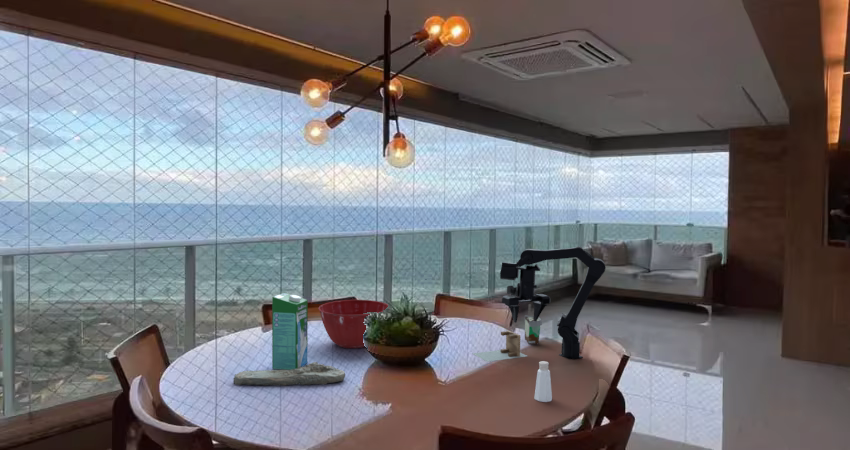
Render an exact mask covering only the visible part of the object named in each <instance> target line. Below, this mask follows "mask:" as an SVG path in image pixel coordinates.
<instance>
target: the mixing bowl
mask: <svg viewBox="0 0 850 450" xmlns="http://www.w3.org/2000/svg"><path fill="white" fill-rule="evenodd" d="M388 305H389V304H388V303H386V302H382V301H377V300H369V299H344V300H335V301H330V302H326V303H323V304H321V305H319V307H318V310H319V313H320V314H319V315H320V318H321V321H322V325H323V327H324V329H325V332H326V333H327V335H328V337H329V339H330V341H332V342H333V343H334V344H335V345H337V346H338V347H340V348H344V349H362V348H365V347H364V343H363V334H364V332H365V330H366V325H364V323H363V322H364V318H365V317H366V316H368V315H370V314H363V313H367V312H377V313H379V312H383V310H385V309H386V308H387V307H388Z"/></svg>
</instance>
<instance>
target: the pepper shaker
mask: <svg viewBox="0 0 850 450" xmlns="http://www.w3.org/2000/svg"><path fill="white" fill-rule="evenodd" d="M538 365H539V369H537V373H536V381H535V388H534V389H535V391H534V398H533V399H534V400H535V401H538V402H541V403H542V402H543V403H548V402H552V401H553V400H552V399H553V393H552V382H551V381H552V380H551V370H549V365H550V364H549V362H548V361H545V360H542V361H539V362H538Z"/></svg>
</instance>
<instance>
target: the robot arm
mask: <svg viewBox="0 0 850 450" xmlns="http://www.w3.org/2000/svg"><path fill="white" fill-rule="evenodd" d="M575 258H577V259H579V260H580V262H582V263H583V264H584V265H585V266H586V267H587V271H586V273H585V274H586V275H585V278H584V280H583V282H582V285H581V287H580V288H579V290H578V293H577V295H576V297H575V298H574V300H573V302H572V304H571V306H570V309H569V310H568V312H566V314H564V313H562V314H561V317H560V319H559V320H558V321H557V325H556V326H557V333H558V335H559V337H561V338H562V339H561V353H558V356H560V357H562V358H565V359H567V360H578V359H583V355H580V352H581V351H580V349H581V347H580V343H581V341H579V340H580V333H579V332H578V331H577V330H576V326H577V325H576V324H577V321H578V318H579V315H580V313H581V311H582V309H583V307H584V305H585V303H586V301H587V299H588V298H589V296H590V293H591V291H592V290H593V288H594V285H595V284H596V283H597V282H598V281H599V280H600V279H601V277H603V275H604V273H605V272H606V269H607V268H606V264H605V262H604V261H603V260H602V259H601V258H597V257H594V256H593V255H592V254H591V253H589V252H588V251H587V250H585V249H584V248H583V246H578V245H577V246H574V247H565V248H554V249H539V248H526V249H524V250H523V251H522V252H521V253H520V259H519V260H517V261H516V262H508V261H507V262H506V261H502V262H501V268H500V271H499V272H500V273H499V277H500V280H506V281H516V280H517V279H519V282H517V286H515V287H514V285H508V286H507V287H506V292H507V295H503V296H502V298H501V303H502V304H504V305H505V306H507V308H509V310H510V313H511V317H512V320H513V323H515V324H516V323H517V321H518V316H519V309H520V306H519V303H530V302H531V303H532V305H533V316H534V321H537V319H538V317H539V318H540V315H541V313H542V312H543V310H544V309H545V308H546V307H547V306H548V305H549V304H550V303H551V297H550V296H549V295H546V294H543V293H539V294H538V293H537V294H535V289H537V287H538V286H537V284H536V272H540V271H541V270H542V269H541V268H540V267H539V265H538V263H540V262H541V263H542V262H543V261H544V262H545V261H551V260H562V259H564V260H565V259H575ZM533 264H535V265H533ZM525 265H526V266H525ZM523 266H525V267H523Z"/></svg>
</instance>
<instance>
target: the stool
mask: <svg viewBox="0 0 850 450" xmlns="http://www.w3.org/2000/svg"><path fill="white" fill-rule="evenodd" d="M500 335H501V336H505V337H506V338H505V342H506V343H505V348H501V349H500V350H501V353H508V352H509V353H508V356H509V357H513V356H520V353H521V334H518V333H516V332H513V331H512V330H505V331H500Z"/></svg>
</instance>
